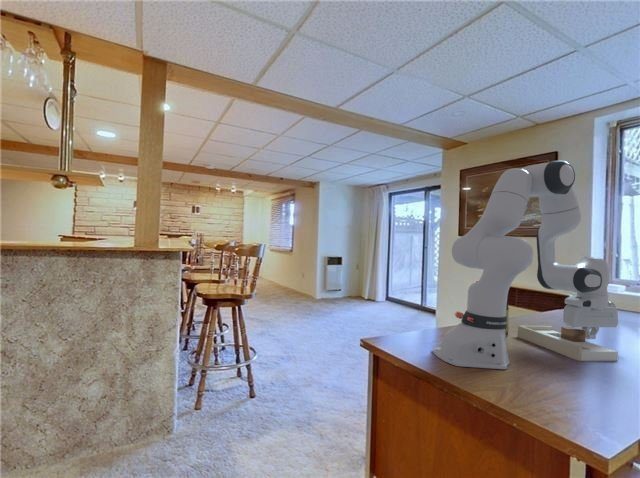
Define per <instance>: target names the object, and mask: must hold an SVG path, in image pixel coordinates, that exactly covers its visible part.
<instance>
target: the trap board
mask: <svg viewBox="0 0 640 478" xmlns="http://www.w3.org/2000/svg"><path fill="white" fill-rule="evenodd" d="M517 337H518V338H520V339H523V340H525V341H528V342H530V343H533V344H535V345H538V346H540V347H542V348H544V349H547V350H550V351H553V352H555V353H558V354H560V355H563V356H565V357H568V358H571V359H572V360H575V361H578V362H596V361H597V362H599V361H600V362H606V361H607V362H609V361H610V362H613V361H616V362H617V361H618V357H619V356H618V354H619V352H618V351H617V350H614V349H610V348H607V347H605V346H601V345H599V344H595V343H593V342H590V341H586V340H585V342H572V341H569V340H566V339H563V338H561V332H559V331H556V330H554V329H553V326H551V325H518V326H517Z"/></svg>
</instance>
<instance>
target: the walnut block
mask: <svg viewBox="0 0 640 478" xmlns="http://www.w3.org/2000/svg"><path fill="white" fill-rule="evenodd" d="M560 330H561V331H560V333H561V338H563V339H566V340H569V341H572V342H585V341H586V338H585V335H586V331H584V330H582V328H578V327H572V326H561V329H560Z"/></svg>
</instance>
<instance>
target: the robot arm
mask: <svg viewBox="0 0 640 478" xmlns="http://www.w3.org/2000/svg"><path fill="white" fill-rule="evenodd" d="M575 179H576V172H575V170H574V167H573V166H572V165H571V164H570V163H568V161H566V160H552V161H549V162H544V163H543V162H542V163H538V164H530V165H527V166H525V167H521V168H519V167H518V168H516V167H515V168H508V169H507V170H505V171H504V172H503V173H502V174H501V175H500V176H499V178H498V180H497V181H496V184H495V185H494V187H493V190H492V191H491V194H490V197H489V199H488V202H487V204H486V206H485V209H484V211H483V213H482V215H481V217H480V218H479V220H478V221H477V222H476V223H475V225H474V226H473V227H472V228H471V229H470V230H469V231H468V232H467V233H466V234H463V235H462V236H460V237H458V238H457V239H455V240H454V242H453V244H452V246H451V247H452V248H451V254H452V259H453V261H454V262H455V263H456V264H458V265H461V266H464V267H467V268H470V269H478V270H482V274H481V276H480V278H479V279H478V281H475V282H473V283H472V284H470V285H469V286H468V289H467V302H466V304H467V305H466V310H465V312H464V313H462V312H460V311H456V312H455V313H454V316H455V317H456V318H458V319H461V320H460V321H461V322H460V323H458V324H457V325H455V326H454V327H452V328H451V329H449V330H448V331H447V332H445V333H444V334H443V335H442V337H441V338H442V339H441V342H440V346H437V347H436V346H435V347H433V349H432V352H433V354H434V355H435V356H436V358H439V359H440V360H442V361H444V362H446V363H448V364H451V365H452V366H455V367H463V368H464V367H466V368H468V367H469V368H477V369H478V368H481V369H491V370H493V369H497V370H507V369H508V366H509V365H510V359H509V355H508V350H507V349H508V348H507V341H506V340H507V338H506V337H507V336H506V335H505V331H506V328H507V316H506V305H507V303H508V295H509V290H510V288H511V286H512V284H513V282H514V281H515V279H516V278H517V277H518V276H519V275H520V274H521V273H522V272H524V271H526V270H527V269H529V267H530V266H531V265H532V263H533V261H534V249H533V247H532V245H531V244H530V242H529V241H528V240H526V239H524V238H520V237H517V236H511V235H507V234H509V233H510V232H513V231H514V230H517V229H518V228H519V226H520V225H521V223H522V220H523V217H524V216H525V212H526V210H527V207H528V204H529V201H530V198H538V204H539V210H540V215H541V223H540V225H539V226H538V228H537V230H536V250H537V272H536V277H537V281H538V282H539V284H540V285H541V287H542V288H544V289H546V290H555V291H557V290H559V291H565V292H573V293H576V294H574V295H572V296H568V297H566V298H565V299H564V304H566V305H565V306H564V308H563V315H562V316H563V317H562V318H563V319H562V321H563V323H564V325H565V326H567V327H574V328H581V330H584V331H586V335H585V340H596V338H597V335H598V333H599V332H600V328H614V329H615V328H617V327H618V325H619V316H618V315H619V314H618V310H617V305H616V304H615V303H614V302H612V301H609V292H608V286H609V284H610V269H609V264H608V261H607V260H605V259H604V258H599V257H594V256H584V257H581V258H580V261H579V262H577V263H575V264H573V265H572V264H560V263H559V262H557V260H556V248H555V247H556V246H555V244H556V240H557V238H559V237H561V236H564V235H567V234H569V233H570V232H572V231H574V230H575V229H576V228H577V227H578V226H579V225H580V223H581V220H582V217H581V215H582V214H581V210H580V206H579V201H578V198H577V194H576V192H575V190H574V187H573V185H574V183H575V181H576V180H575Z"/></svg>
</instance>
